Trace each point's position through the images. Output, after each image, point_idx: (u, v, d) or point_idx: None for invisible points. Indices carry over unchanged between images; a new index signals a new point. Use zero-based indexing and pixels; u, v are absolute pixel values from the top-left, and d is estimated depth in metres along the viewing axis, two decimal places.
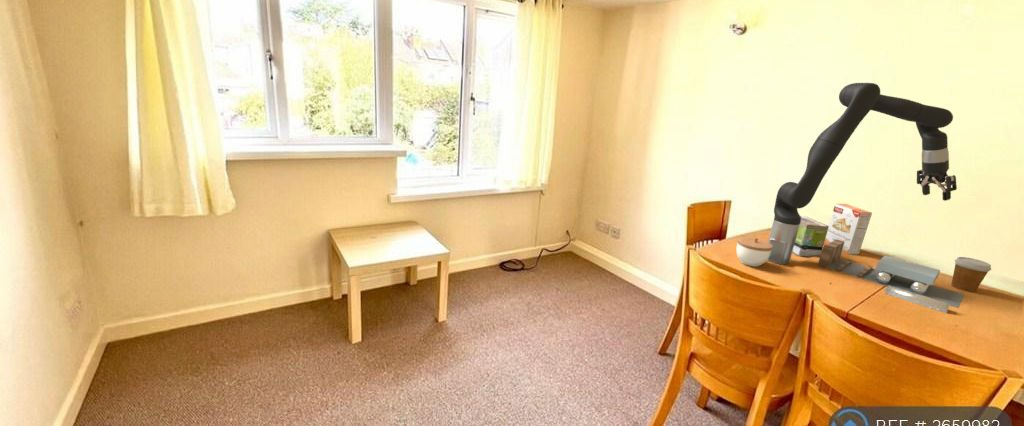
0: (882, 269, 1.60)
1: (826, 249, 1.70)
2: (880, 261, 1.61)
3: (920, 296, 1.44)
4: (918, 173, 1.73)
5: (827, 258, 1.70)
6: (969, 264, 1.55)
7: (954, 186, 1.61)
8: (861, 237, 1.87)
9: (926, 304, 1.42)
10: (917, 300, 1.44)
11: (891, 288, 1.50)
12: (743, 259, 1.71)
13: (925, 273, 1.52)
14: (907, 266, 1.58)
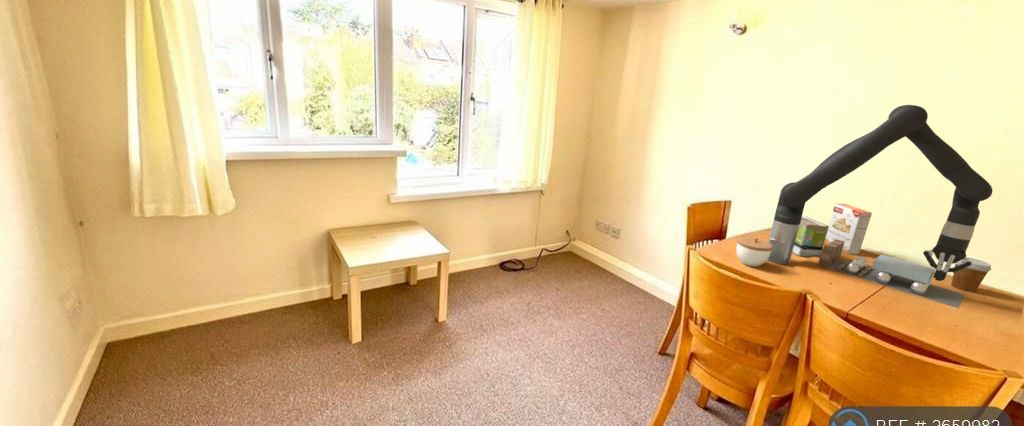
0: (878, 268, 1.61)
1: (826, 249, 1.70)
2: (876, 260, 1.62)
3: (863, 263, 1.69)
4: (926, 254, 1.53)
5: (827, 258, 1.70)
6: None
7: None
8: (861, 237, 1.87)
9: None
10: None
11: (858, 268, 1.65)
12: (743, 259, 1.71)
13: (920, 272, 1.53)
14: (903, 265, 1.58)
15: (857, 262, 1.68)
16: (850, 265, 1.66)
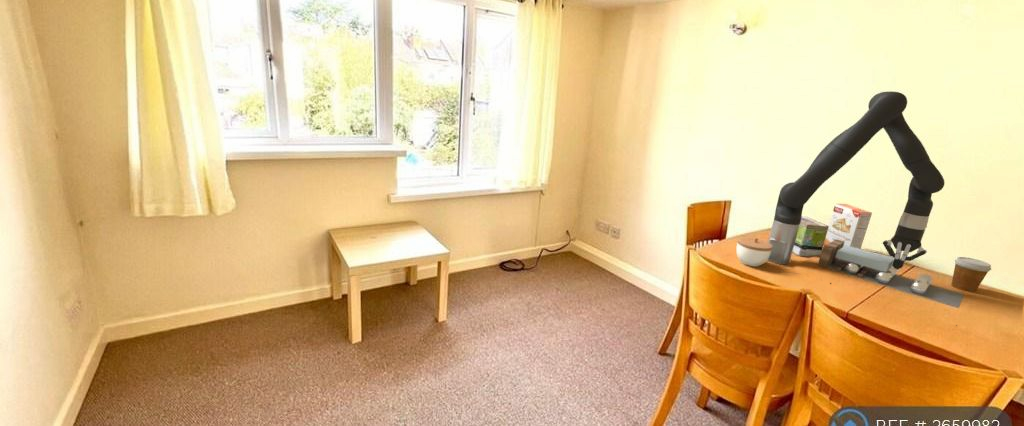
0: (841, 257, 1.69)
1: (826, 249, 1.70)
2: (840, 250, 1.70)
3: None
4: (886, 244, 1.61)
5: (827, 258, 1.70)
6: (969, 264, 1.55)
7: None
8: (861, 237, 1.87)
9: (863, 266, 1.71)
10: (862, 266, 1.70)
11: (857, 267, 1.65)
12: (743, 259, 1.71)
13: (880, 261, 1.61)
14: (864, 254, 1.67)
15: None
16: (849, 265, 1.66)
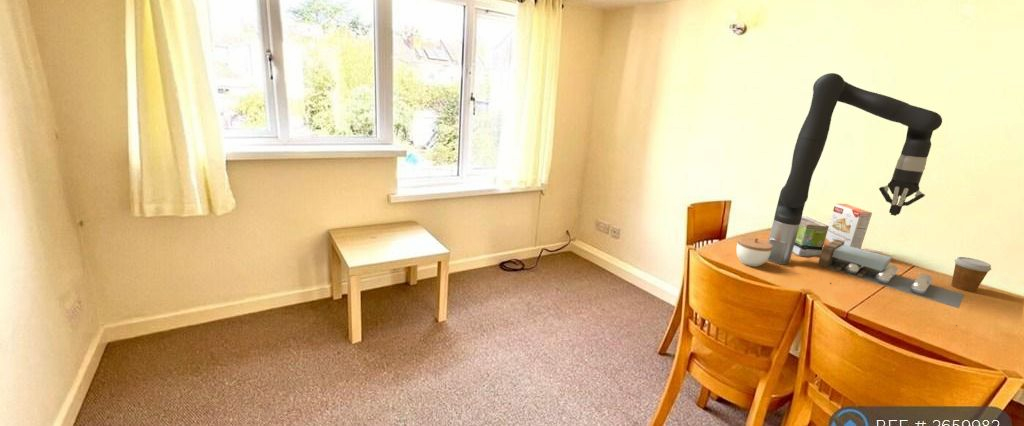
0: (838, 256, 1.70)
1: (826, 249, 1.70)
2: (836, 249, 1.71)
3: None
4: (882, 189, 1.55)
5: (827, 258, 1.70)
6: (969, 264, 1.55)
7: None
8: (861, 237, 1.87)
9: None
10: None
11: (858, 268, 1.65)
12: (743, 259, 1.71)
13: (876, 260, 1.62)
14: (861, 253, 1.68)
15: None
16: (850, 265, 1.66)
